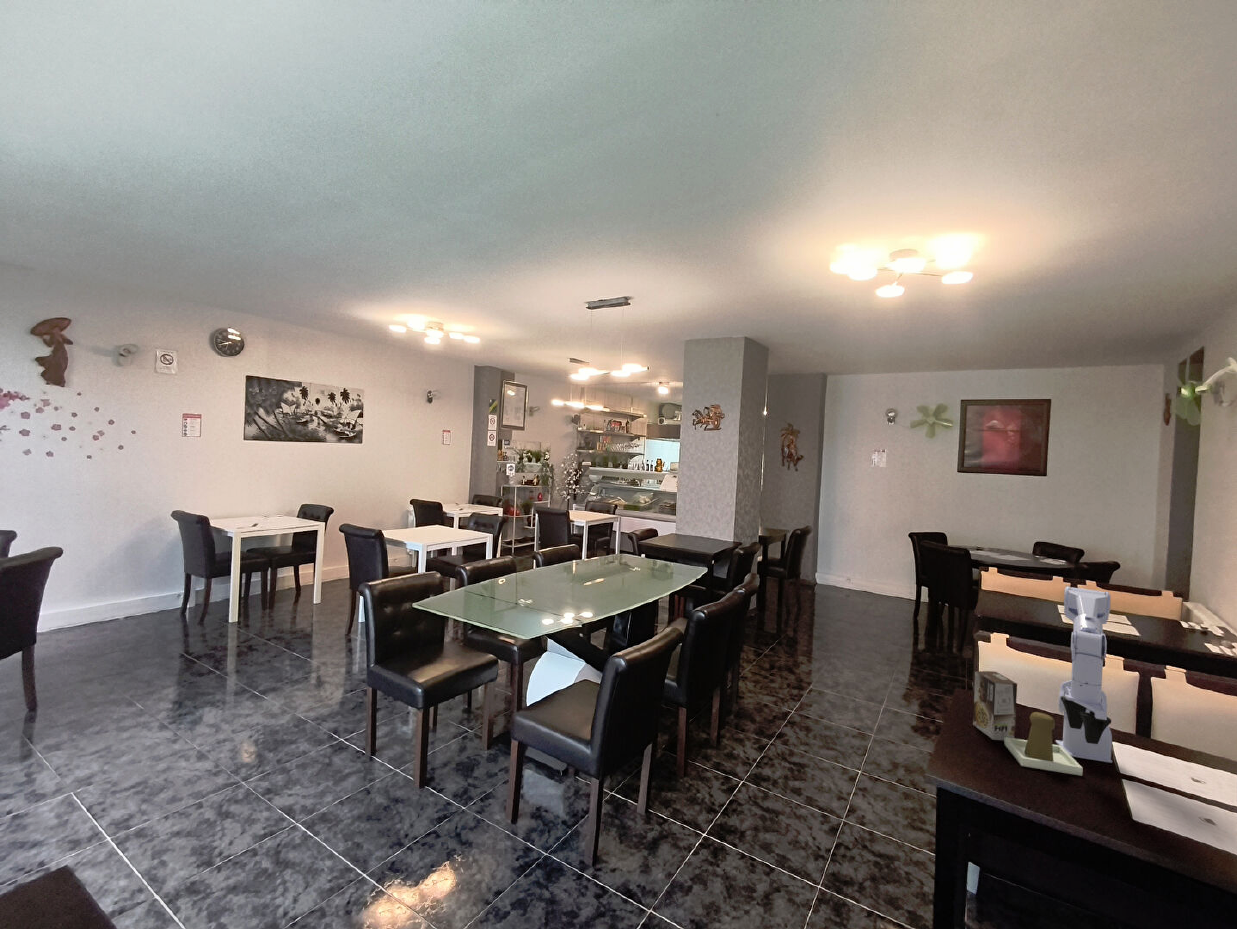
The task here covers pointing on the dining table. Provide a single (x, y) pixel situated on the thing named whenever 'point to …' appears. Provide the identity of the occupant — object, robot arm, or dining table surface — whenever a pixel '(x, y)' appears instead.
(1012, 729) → the coffee box
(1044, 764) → the tray
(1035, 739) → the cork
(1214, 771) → the dining table surface
